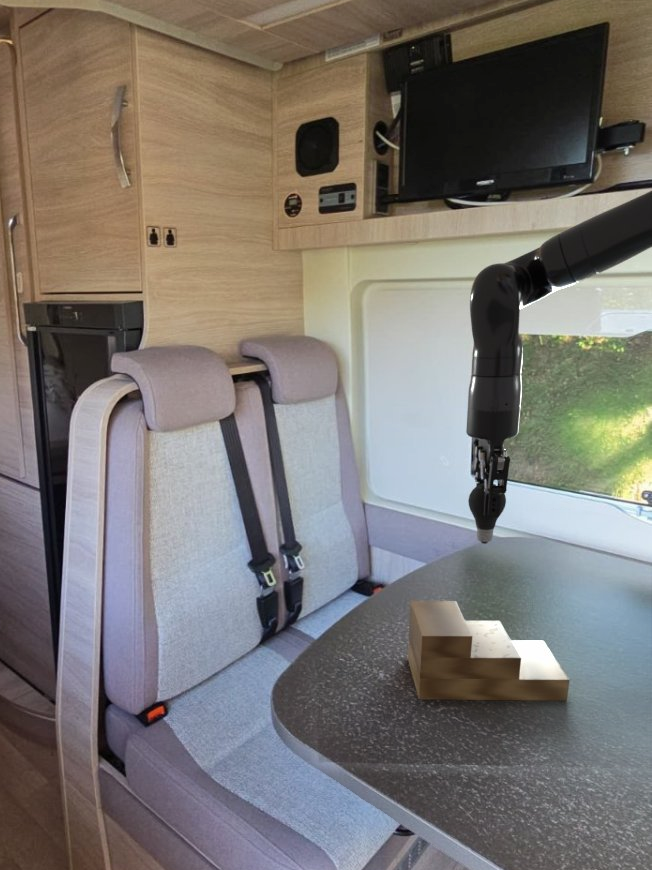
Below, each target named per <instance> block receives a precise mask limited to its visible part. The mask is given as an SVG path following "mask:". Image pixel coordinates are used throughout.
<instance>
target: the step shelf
mask: <svg viewBox="0 0 652 870" xmlns="http://www.w3.org/2000/svg"><path fill="white" fill-rule="evenodd" d="M408 622H409V625H408V645H407V646H408V648H407V661H408V665H409V668H410V671H411V675H412V679H413V683H414V685H415V687H414V688H415V690H416V694H417V697H418V700H440V701H441V700H443V701H445V700H447V701H449V700H451V701H452V700H453V701H455V700H457V701H460V700H461V701H540V702H542V701H543V702H544V701H545V702H547V701H550V702H553V701H554V702H567V701H568V694H569V687H570V678H569V677H568V676H567V674H566V672H565V671H564V669H563V668H562V666H561V665H560V663H559V661H558V660H557V659H556V657H555V655H554V654H553V652H552V651H551V649H550V648H549V647H548V644H547V643H546V642H545V640H543V639H542V640H541V639H539V640H538V639H537V640H535V639H534V640H531V639H530V640H528V639H527V640H523V639H522V640H520V639H517V640H512V639H511V638H510V636H509V634H508V633H507V631H506V629H505V628H504V626H503V623H502V622H501V620H466V619H465V618H464V616H463V613H462V611H461V609H460V607H459V605H458V603H457V600H410V601H409V621H408Z"/></svg>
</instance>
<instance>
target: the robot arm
mask: <svg viewBox="0 0 652 870" xmlns="http://www.w3.org/2000/svg"><path fill="white" fill-rule="evenodd" d="M651 248H652V190H650V191H648V192H646V193H644V194H641V195H639V196H636V197H635V198H632V199H630V200H628V201H626V202H625V203H624V202H623V203H621V204H620V205H617V206H615V207H612V208H610V209H608V210H606V211H604V212H603V211H602V212H601V213H599V214H597V215H595V216H593V217H591V218H588V219H587V220H584V221H582V222H580V223H579V224H576V225H574V226H572V227H569V228H568V229H566V230H564V231H561V232H560V233H558V234H556V235H554V236H552V237H550V238H548V239H547V240H546V241H543V243H542V244H541V245H540V246H539V247H537V248H535V249H533V250H531V251H529V252H527V253H524V254H522V255H519V256H518V257H516V258H514V259H511V260H509V261H506V262H503V263H493V264H490V265H488V266H485V268H483V269H481V271H479V273H478V274H477V275H476V277H475V279H474V280H473V282H472V285H471V288H470V289H471V290H470V298H469V316H470V327H471V333H472V339H473V347H472V354H471V356H472V357H471V371H470V372H471V375H470V382H469V386H468V392H467V393H468V395H467V396H468V397H467V414H466V430H465V431H466V435H467V436H468V437H470V438H473V441H472V442H473V443H472V444H473V454H472V455H473V457H472V458H473V460H472V461H473V463H472V475H473V477H474V481H475V483H476V484H475V487H476V486H478V485H480V484H483V483H484V485H485V489H484V492H485V499H484V516H485V517H486V518H496V517H498V516H499V511H500V498H501V494H502V493H504V494H506V493H507V490H508V489H507V486H508V478H509V471H510V465H511V464H510V463H511V458H510V456H509V455H508V452H507V451H508V450H507V449H506V448H505V443H504V442H505V440H508V439H512V438H513V439H514V438H515V437H517V436H518V434H519V428H520V415H521V403H522V391H523V390H522V389H523V387H522V386H523V385H522V368H523V357H524V355H523V354H524V343H523V338H522V336H521V335H520V315H521V314H520V312H521V311H520V310H521V309H523V308H525V307H528V306H529V305H531V304H533V303H535V302H537V301H540V300H541V299H544V298H546V297H547V296H549V295H550V294H553V293H554V292H556V291H559V290H561V289H565V288H567V287H571V286H573V285H576V284H577V283H581V282H583V281H585V280H587V279H589V278H592V277H595V276H596V275H598V274H601V273H603V272H605V271H607V270H610V269H612V268H613V267H616V266H618V265H620V264H622V263H624V262H626V261H628V260H630V259H632V258H633V257H636V256H639V254H641V253H643V252H645V251H647V250H649V249H651ZM495 481H497V486H493V484H494V482H495ZM499 517H500V516H499ZM499 517H498V518H499Z"/></svg>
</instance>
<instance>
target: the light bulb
mask: <svg viewBox="0 0 652 870" xmlns="http://www.w3.org/2000/svg"><path fill="white" fill-rule="evenodd" d="M493 486H498V484H495V483H493ZM484 489H485V485H484V483H483V484H480V485H478V486H476V485H475V487H474V488H473V489H472V490H471V491H470V494H469V496H468V501H467V502H468V507H469V510H470V512H471V514H472V516H473V518H474V520H475V527H476V540H478V541H479V542H480V543H481V544H483V545H487V544H488V543H489V542H491V541H492V540H493V538H494V529H495V528H496V524H497V522H498V519H499V518H500V516H501V515H502V513H503V512H504V510H505V507H506V504H507V498H506V497H507V496H506V493H502V494H501V498H500V511H499V516H498V517H496V518H486V517H485V516H484V499H485V492H484Z"/></svg>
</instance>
